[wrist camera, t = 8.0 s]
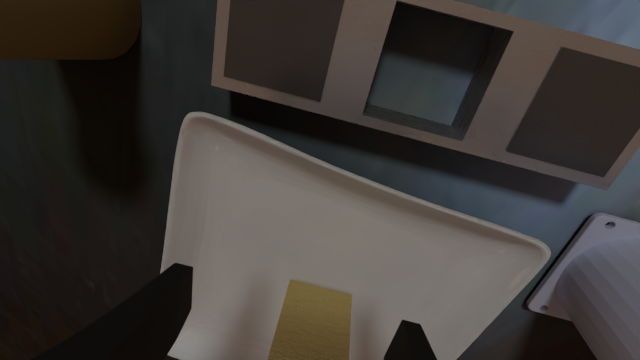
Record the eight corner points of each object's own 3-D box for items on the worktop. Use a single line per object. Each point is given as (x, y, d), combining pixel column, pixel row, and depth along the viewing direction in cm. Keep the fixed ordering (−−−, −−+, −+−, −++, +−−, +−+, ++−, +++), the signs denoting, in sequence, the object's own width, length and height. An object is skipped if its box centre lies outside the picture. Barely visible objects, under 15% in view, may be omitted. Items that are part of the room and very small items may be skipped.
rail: (654, 57, 16) (702, 65, 13) (579, 169, 18) (608, 191, 16) (241, -52, 16) (221, -62, 13) (229, 76, 18) (210, 85, 16)
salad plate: (166, 319, 29) (143, 354, 26) (206, 91, 20) (177, 106, 17) (389, 394, 30) (391, 437, 27) (534, 214, 21) (563, 249, 18)
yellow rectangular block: (352, 295, 21) (346, 404, 15) (337, 335, 23) (326, 446, 17) (290, 279, 21) (261, 381, 15) (279, 321, 23) (250, 426, 17)
